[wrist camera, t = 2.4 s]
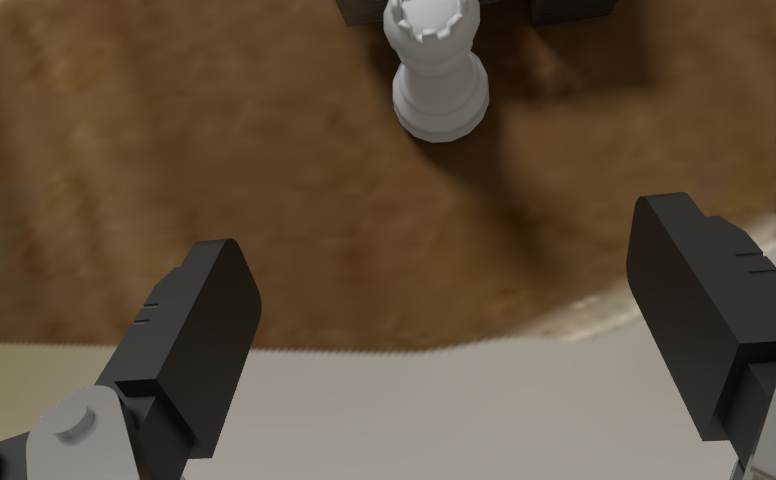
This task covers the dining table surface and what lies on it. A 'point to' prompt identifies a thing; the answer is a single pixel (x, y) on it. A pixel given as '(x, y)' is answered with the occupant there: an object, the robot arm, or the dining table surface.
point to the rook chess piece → (437, 67)
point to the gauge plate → (370, 10)
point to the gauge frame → (567, 10)
